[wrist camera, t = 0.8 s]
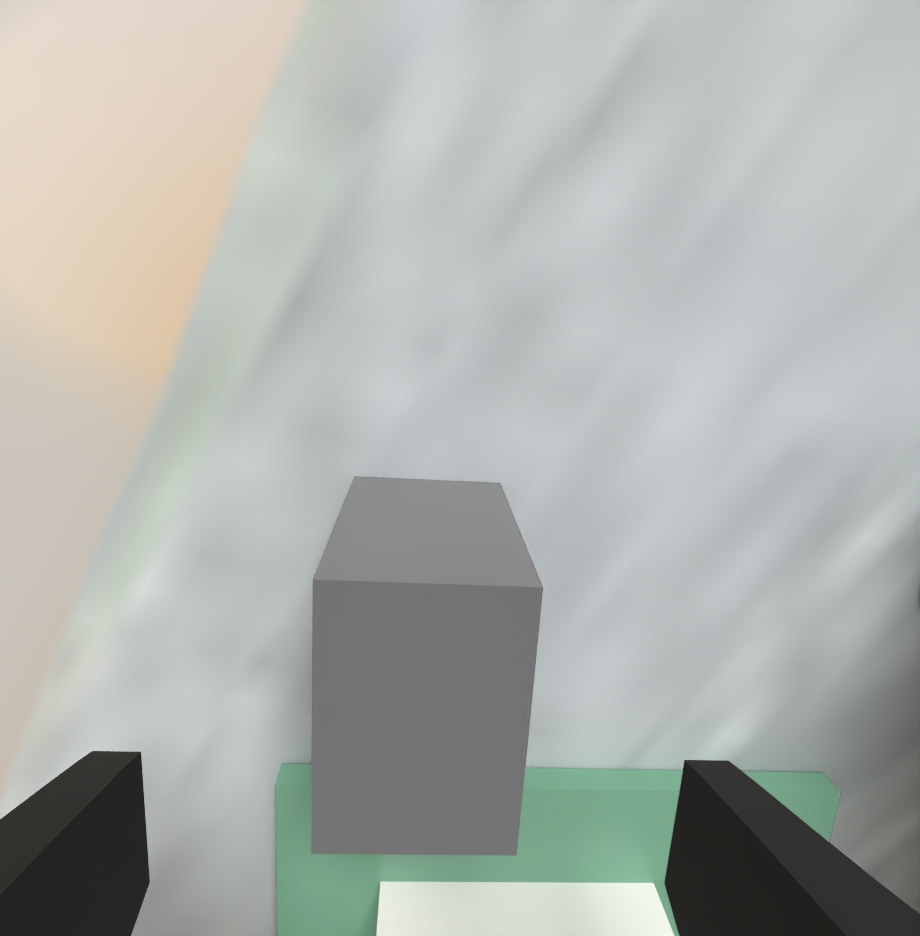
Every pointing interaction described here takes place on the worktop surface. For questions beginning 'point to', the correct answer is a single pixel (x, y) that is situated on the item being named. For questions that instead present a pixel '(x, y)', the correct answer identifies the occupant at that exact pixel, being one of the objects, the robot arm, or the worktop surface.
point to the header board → (515, 862)
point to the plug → (422, 671)
